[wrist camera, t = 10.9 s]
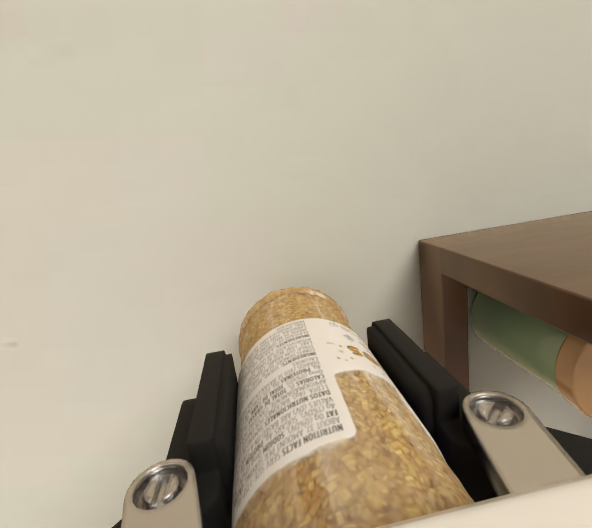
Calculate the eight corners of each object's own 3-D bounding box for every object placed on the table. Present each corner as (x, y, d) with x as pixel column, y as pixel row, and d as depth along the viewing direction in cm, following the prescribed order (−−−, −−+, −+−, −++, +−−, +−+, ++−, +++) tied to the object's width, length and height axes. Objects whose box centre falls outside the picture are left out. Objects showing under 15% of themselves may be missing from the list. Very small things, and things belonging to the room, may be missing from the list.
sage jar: (467, 276, 18) (576, 323, 12) (547, 262, 18) (689, 300, 12) (468, 355, 19) (569, 433, 13) (544, 339, 19) (674, 408, 13)
